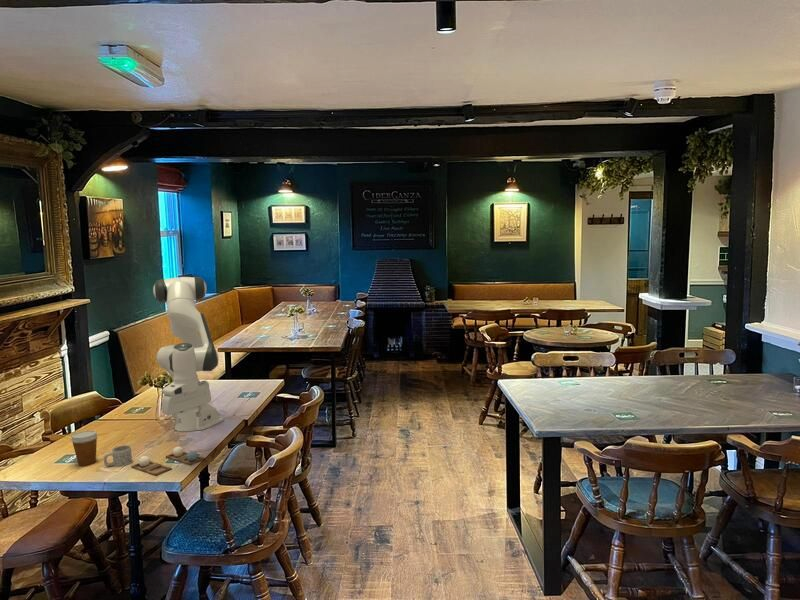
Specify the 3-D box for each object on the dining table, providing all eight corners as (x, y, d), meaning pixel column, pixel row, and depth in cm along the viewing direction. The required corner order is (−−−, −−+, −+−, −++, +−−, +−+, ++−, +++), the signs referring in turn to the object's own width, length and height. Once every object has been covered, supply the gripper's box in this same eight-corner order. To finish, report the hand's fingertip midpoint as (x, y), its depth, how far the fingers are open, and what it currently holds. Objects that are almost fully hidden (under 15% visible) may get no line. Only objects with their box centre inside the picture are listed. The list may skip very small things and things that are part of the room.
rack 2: (165, 459, 239) (165, 456, 239) (180, 453, 245) (180, 450, 244) (190, 467, 230) (190, 463, 230) (205, 460, 236) (205, 457, 235)
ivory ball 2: (179, 453, 242) (178, 444, 242) (185, 455, 240) (185, 446, 240) (171, 457, 239) (170, 447, 239) (177, 459, 237) (176, 449, 236)
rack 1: (131, 469, 230) (131, 465, 230) (147, 462, 236) (147, 459, 235) (155, 477, 221) (155, 474, 221) (172, 471, 227) (172, 467, 226)
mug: (130, 459, 240) (128, 444, 239) (134, 464, 234) (132, 448, 233) (103, 466, 234) (101, 450, 233) (106, 471, 228) (104, 455, 228)
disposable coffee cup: (70, 463, 238) (67, 434, 236) (95, 456, 244) (93, 428, 243) (77, 469, 231) (74, 440, 230) (103, 462, 238) (100, 433, 236)
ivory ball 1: (146, 463, 233) (145, 453, 233) (152, 465, 231) (151, 455, 231) (137, 467, 230) (136, 457, 230) (143, 469, 228) (142, 459, 227)
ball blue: (193, 458, 237) (192, 448, 237) (199, 460, 235) (199, 450, 235) (185, 461, 234) (184, 451, 234) (191, 463, 232) (190, 453, 231)
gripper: (203, 378, 241) (205, 411, 243) (158, 390, 224) (161, 425, 226) (213, 380, 238) (215, 413, 239) (168, 392, 221) (171, 428, 222)
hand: (188, 419), depth 232 cm, fingers open, 8 cm apart
